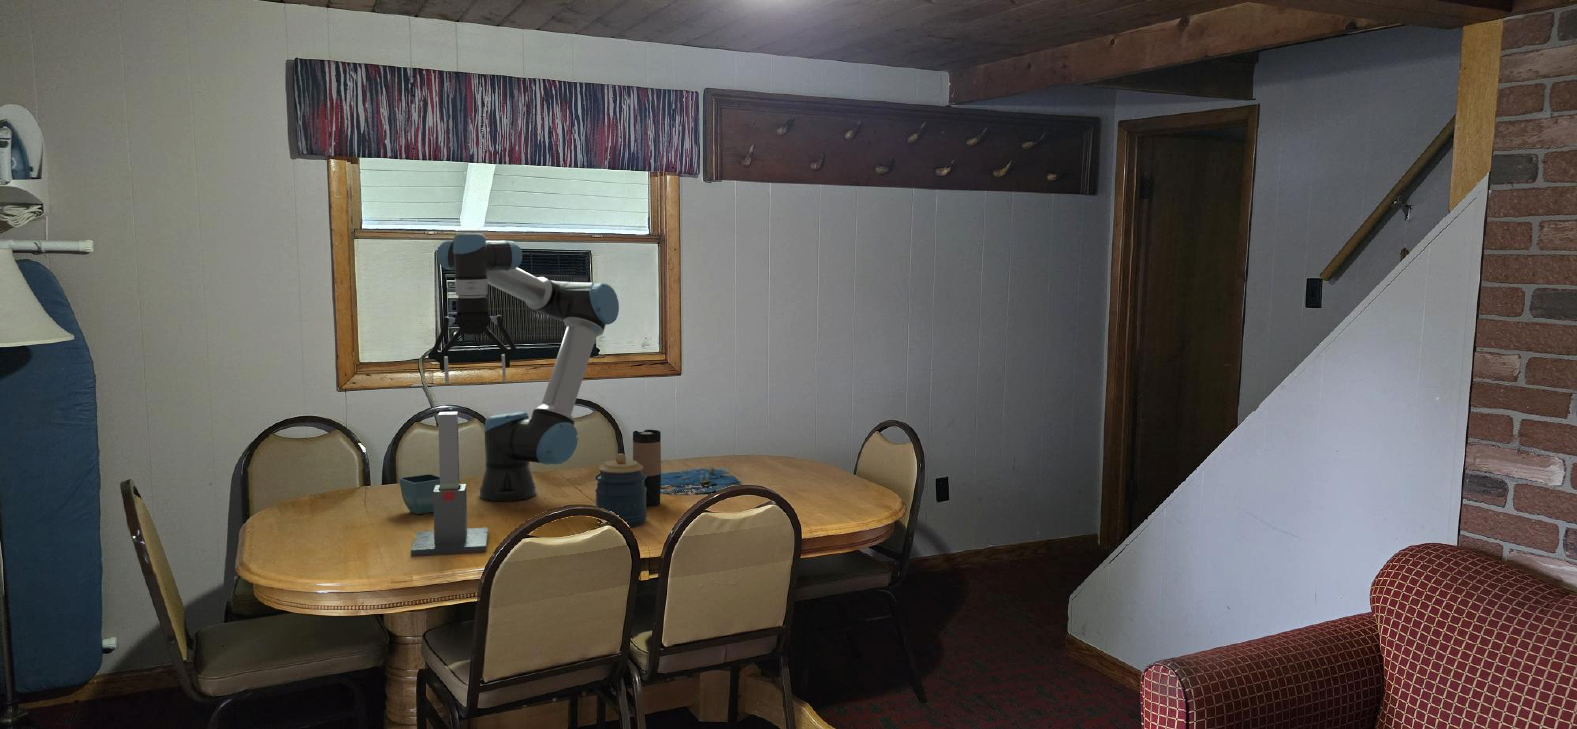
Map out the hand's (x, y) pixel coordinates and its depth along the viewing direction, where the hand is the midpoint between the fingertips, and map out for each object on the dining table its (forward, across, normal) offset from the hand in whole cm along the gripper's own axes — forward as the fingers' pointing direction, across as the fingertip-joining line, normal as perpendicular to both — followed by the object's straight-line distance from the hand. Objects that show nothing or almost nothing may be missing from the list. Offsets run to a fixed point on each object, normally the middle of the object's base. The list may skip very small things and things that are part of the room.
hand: (476, 382), depth 253 cm
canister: (+36, +34, -10) cm, 51 cm away
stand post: (+27, -7, -20) cm, 34 cm away
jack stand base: (+35, -7, -20) cm, 41 cm away
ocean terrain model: (+39, +60, +29) cm, 77 cm away
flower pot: (+36, -15, +13) cm, 41 cm away
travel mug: (+37, +43, +7) cm, 57 cm away
